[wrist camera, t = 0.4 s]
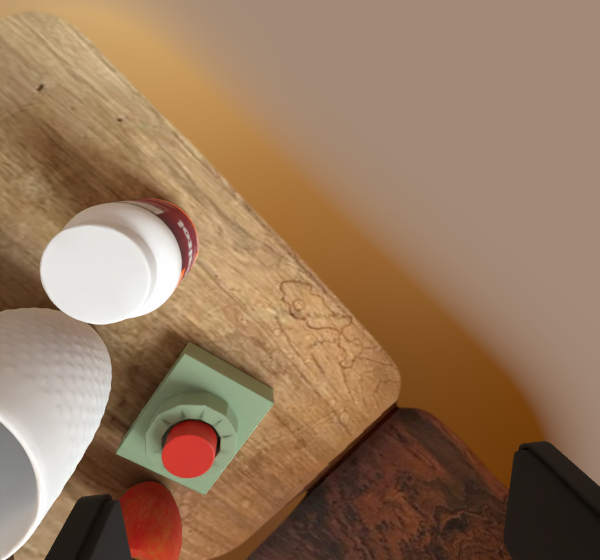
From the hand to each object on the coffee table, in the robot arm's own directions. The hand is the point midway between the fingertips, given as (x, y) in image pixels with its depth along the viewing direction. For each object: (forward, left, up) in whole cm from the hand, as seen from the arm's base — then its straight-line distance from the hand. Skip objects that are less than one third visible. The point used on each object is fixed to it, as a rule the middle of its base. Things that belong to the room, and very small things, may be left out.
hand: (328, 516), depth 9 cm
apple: (+22, +2, -21) cm, 30 cm away
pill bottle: (+2, -9, -21) cm, 23 cm away
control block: (+13, +1, -21) cm, 25 cm away
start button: (+13, +1, -18) cm, 22 cm away
